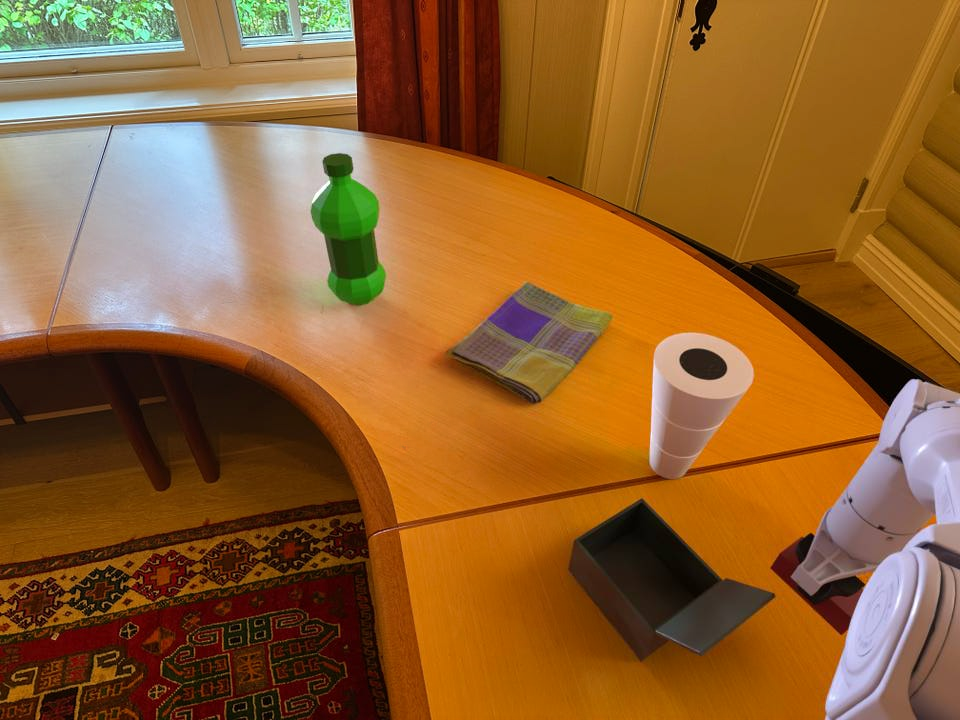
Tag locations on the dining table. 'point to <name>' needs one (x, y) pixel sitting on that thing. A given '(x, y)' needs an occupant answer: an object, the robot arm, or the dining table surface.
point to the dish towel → (531, 342)
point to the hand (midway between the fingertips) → (820, 584)
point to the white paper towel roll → (692, 397)
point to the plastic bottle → (349, 232)
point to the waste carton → (639, 574)
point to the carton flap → (714, 615)
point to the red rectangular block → (830, 610)
